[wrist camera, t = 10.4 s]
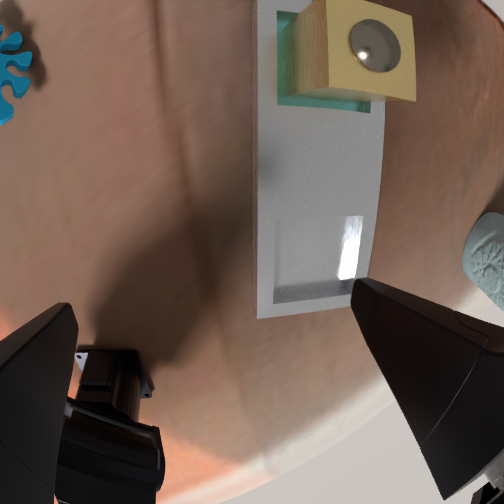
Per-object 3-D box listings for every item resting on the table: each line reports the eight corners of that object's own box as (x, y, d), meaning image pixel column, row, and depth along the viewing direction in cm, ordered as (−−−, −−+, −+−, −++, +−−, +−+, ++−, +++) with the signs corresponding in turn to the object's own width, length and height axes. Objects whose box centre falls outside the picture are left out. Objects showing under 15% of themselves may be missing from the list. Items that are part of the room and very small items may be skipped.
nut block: (352, 102, 18) (418, 102, 12) (284, 96, 18) (330, 86, 11) (351, 38, 16) (413, 15, 10) (283, 28, 16) (326, -11, 9)
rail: (351, 292, 26) (361, 304, 24) (252, 304, 25) (256, 318, 23) (368, 23, 17) (382, 17, 15) (251, 4, 15) (257, -7, 13)
